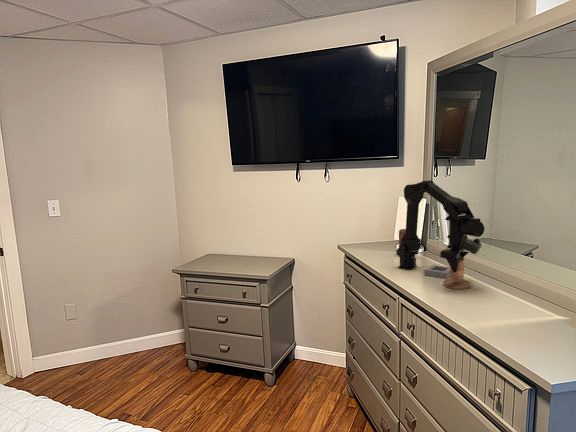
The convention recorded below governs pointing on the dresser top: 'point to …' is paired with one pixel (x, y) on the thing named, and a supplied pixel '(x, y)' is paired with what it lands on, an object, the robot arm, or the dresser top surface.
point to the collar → (437, 271)
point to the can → (401, 235)
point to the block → (458, 271)
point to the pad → (456, 284)
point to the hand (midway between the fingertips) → (456, 270)
